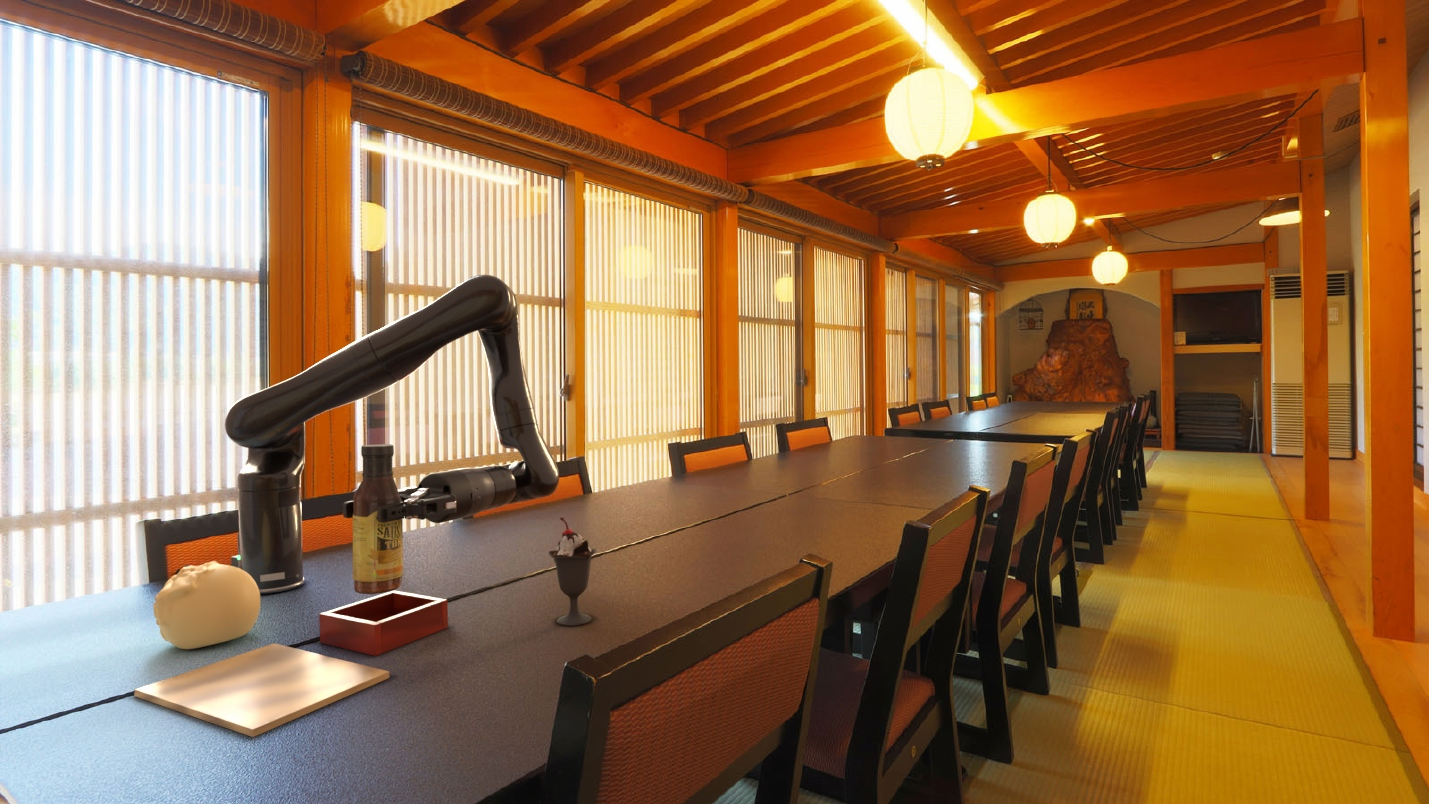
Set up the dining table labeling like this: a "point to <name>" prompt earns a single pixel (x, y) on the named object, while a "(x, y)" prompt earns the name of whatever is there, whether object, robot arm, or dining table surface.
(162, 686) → the mat
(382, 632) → the holder
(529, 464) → the robot arm
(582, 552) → the sundae
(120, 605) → the dining table surface
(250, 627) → the tan rounded lump
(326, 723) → the dining table surface
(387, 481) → the sauce bottle
